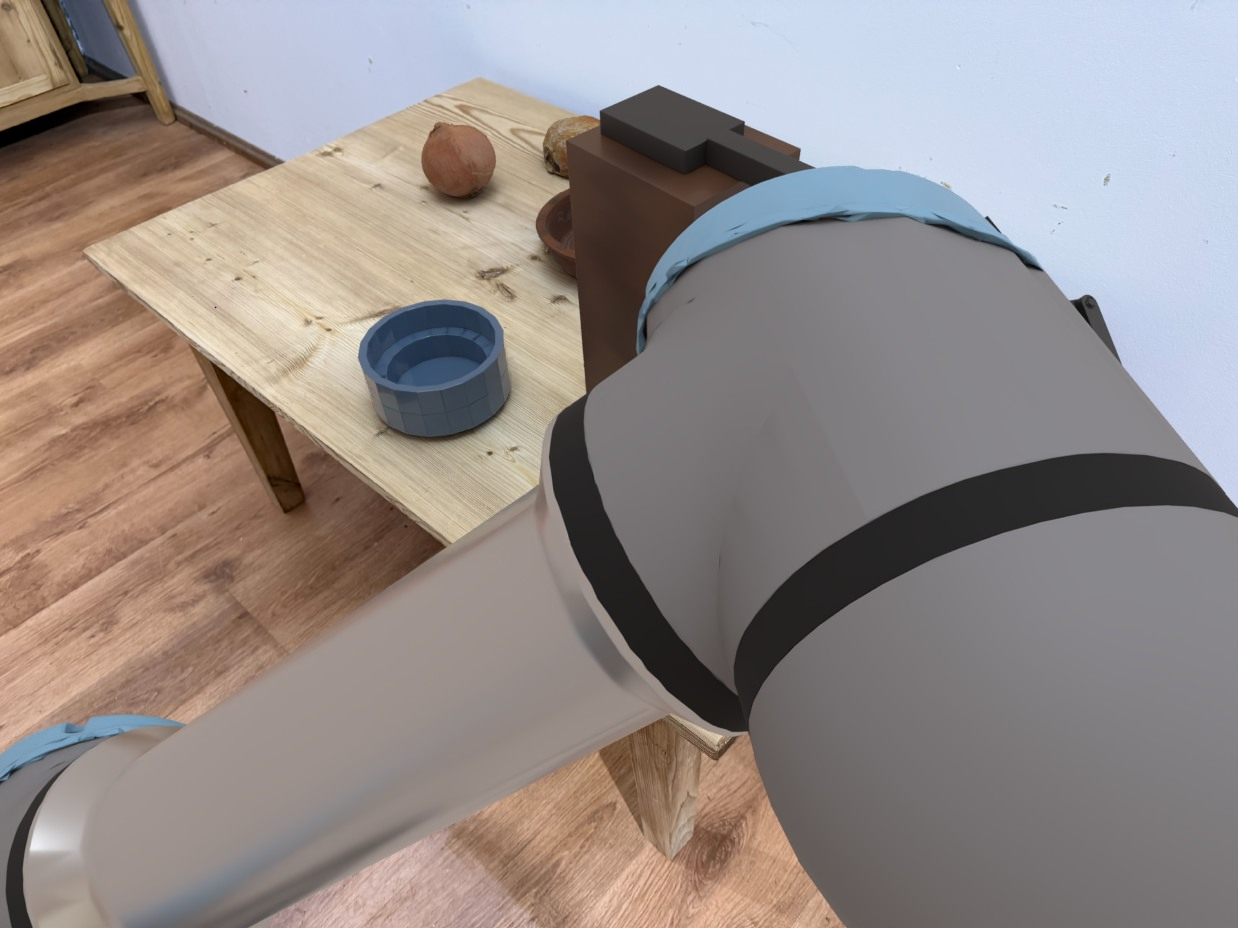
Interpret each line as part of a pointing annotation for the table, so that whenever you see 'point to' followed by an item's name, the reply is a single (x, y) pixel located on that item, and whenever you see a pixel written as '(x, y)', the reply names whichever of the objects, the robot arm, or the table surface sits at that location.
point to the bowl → (436, 367)
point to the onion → (458, 159)
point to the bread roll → (564, 141)
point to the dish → (558, 230)
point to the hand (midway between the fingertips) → (901, 276)
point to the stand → (631, 234)
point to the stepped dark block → (692, 137)
